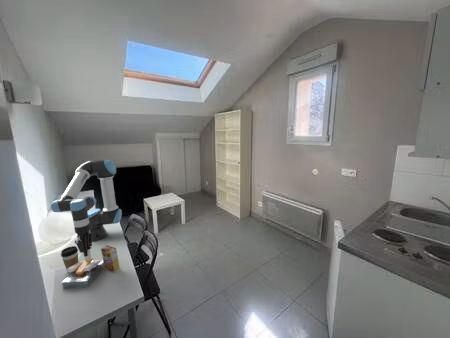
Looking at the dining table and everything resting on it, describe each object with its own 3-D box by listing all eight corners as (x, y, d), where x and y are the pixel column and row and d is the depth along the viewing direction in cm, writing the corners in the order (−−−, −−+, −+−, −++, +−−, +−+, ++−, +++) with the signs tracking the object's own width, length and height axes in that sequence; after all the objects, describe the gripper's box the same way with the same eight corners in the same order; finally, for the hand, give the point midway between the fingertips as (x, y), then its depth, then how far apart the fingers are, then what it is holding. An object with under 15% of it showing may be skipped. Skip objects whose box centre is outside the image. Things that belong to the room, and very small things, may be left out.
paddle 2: (95, 262, 123) (95, 259, 123) (100, 262, 123) (100, 259, 123) (83, 271, 112) (83, 267, 112) (89, 270, 112) (89, 267, 112)
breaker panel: (84, 266, 127) (83, 259, 126) (106, 265, 127) (104, 258, 126) (63, 288, 109) (61, 280, 108) (88, 286, 110) (86, 279, 109)
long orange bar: (88, 259, 123) (87, 257, 122) (93, 259, 123) (92, 257, 122) (76, 274, 112) (75, 272, 112) (82, 274, 113) (81, 271, 112)
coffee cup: (72, 275, 119) (67, 254, 116) (61, 273, 120) (56, 252, 117) (84, 266, 127) (80, 245, 124) (74, 264, 128) (69, 244, 125)
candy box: (104, 269, 123) (100, 248, 120) (110, 265, 127) (106, 244, 124) (114, 273, 120) (110, 251, 117) (119, 268, 124) (116, 247, 121)
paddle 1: (80, 263, 123) (80, 260, 123) (86, 263, 123) (86, 260, 123) (67, 271, 112) (67, 268, 112) (73, 271, 112) (73, 268, 112)
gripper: (82, 220, 122) (88, 253, 127) (67, 230, 109) (74, 267, 114) (95, 219, 122) (100, 252, 127) (80, 230, 109) (87, 266, 114)
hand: (88, 259), depth 120 cm, fingers closed
